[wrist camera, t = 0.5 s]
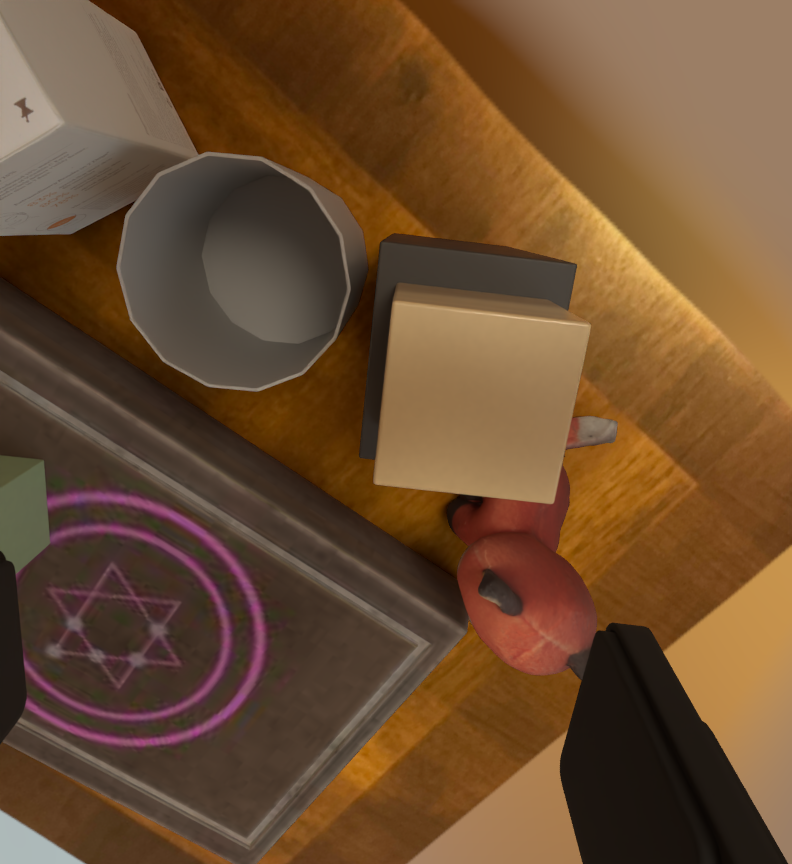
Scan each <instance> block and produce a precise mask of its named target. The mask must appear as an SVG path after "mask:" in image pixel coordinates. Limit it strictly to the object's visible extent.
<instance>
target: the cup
mask: <svg viewBox="0 0 792 864" xmlns="http://www.w3.org/2000/svg"><path fill="white" fill-rule="evenodd" d="M116 268H117V272H118V276H119V280H120V283H121V287H122V291H123V294H124V298H125V302H126V306H127V309H128V313H129V317H130V320H131V321H132V323H133V324H134V325H135V327H136V328H137V329H138V330H139V332H140V333H141V334H142V335H143V337H144V338H145V339H146V341H147V342H148V343H149V344H150V346H151V347H152V348H153V350H154V351H155V352H156V353H157V355H158V356H159V357H160V358H161V360H162V361H163V362H164V363H166V364H168V365H170V366H171V367H173V368H175V369H177V370H179V371H180V372H182V373H184V374H186V375H188V376H189V377H191V378H193V379H195V380H197V381H198V382H200V383H202V384H204V385H206V386H207V387H213V388H224V389H235V390H246V391H257V392H258V391H261V390H263V389H266V388H269V387H271V386H274V385H277V384H279V383H282V382H285V381H288V380H290V379H293V378H296V377H298V376H301V375H303V374H304V373H305V372H306V371H307V370H308V369H309V368H310V367H311V366H312V365H313V364H314V362H315V361H316V360H317V359H318V358H319V357H320V356H321V355H322V354H323V353H324V352H325V351H326V350H327V348H328V347H329V346H330V345H331V344H332V343H333V342H334V341H335V340H336V339H337V337H338V336H339V334H340V332H341V331H342V329H343V328H344V326H345V325H346V323H347V322H348V320H349V318H350V317H351V315H352V314H353V312H354V311H355V309H356V308H357V306H358V304H359V300H360V297H361V294H362V290H363V287H364V284H365V280H366V277H367V274H368V270H369V269H368V262H367V255H366V248H365V242H364V235H363V231H362V229H361V228H360V226H359V225H358V223H357V221H356V220H355V218H354V217H353V215H352V214H351V212H350V211H349V209H348V207H347V206H346V204H345V203H344V201H343V200H342V198H340V197H339V196H337V195H336V194H334V193H332V192H331V191H329V190H328V189H326V188H324V187H323V186H321V185H320V184H318V183H316V182H315V181H313V180H312V179H310V178H308V177H306V176H304V175H302V174H300V173H297V172H295V171H293V170H291V169H288V168H286V167H284V166H282V165H279V164H277V163H275V162H273V161H270V160H268V159H266V158H264V157H258V156H248V155H237V154H226V153H215V152H205V153H203V154H200V155H198V156H196V157H193V158H191V159H189V160H187V161H184V162H182V163H180V164H177V165H175V166H173V167H170V168H168V169H166V170H163V171H161V172H159V173H157V175H156V176H155V177H154V178H153V180H152V181H151V182H150V184H149V185H148V186H147V188H146V189H145V190H144V192H143V193H142V194H141V195H140V197H139V198H138V199H137V201H136V202H135V203H134V205H133V206H132V207H131V209H130V210H129V211H128V212H127V214H126V215H125V221H124V227H123V233H122V238H121V244H120V250H119V255H118V261H117V267H116Z"/></svg>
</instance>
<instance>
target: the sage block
mask: <svg viewBox="0 0 792 864" xmlns="http://www.w3.org/2000/svg"><path fill="white" fill-rule="evenodd" d="M49 544H50V535H49V521H48V508H47V495H46V481H45V468H44V460H41V459H31V458H22V457H12V456H3V455H0V551H1V552H3V554H4V555H5V557H6V560H7V561H11V562H12V563H13V564H14V567H15V573H16V574H17V573H18V572H19V571H20V570H21V569H22V568H23V567H24V566H26V565H27V564H28V563H29V562H30V561H31V560H32V559H33V558H34V557H36V556H37V555H38V554H39V553H40V552H41V551H42V550H43V549H45V548H46V547H47V546H48V545H49Z"/></svg>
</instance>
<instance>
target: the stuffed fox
mask: <svg viewBox="0 0 792 864" xmlns="http://www.w3.org/2000/svg"><path fill="white" fill-rule="evenodd" d="M616 434H617V422H616V421H613V420H609V419H602V418H598V417H593V416H584V417H577V418H572V420H571V425H570V430H569V434H568V439H567V444H566V449H565V450H567V449H572V448H579V447H584V446H589V445H599V444H603V443H613V442H614V441H615V438H616ZM564 457H565V456H564ZM569 494H570V485H569V480H568V477H567V474H566V471H565V469H564V467H563V463H562V468H561V473H560V477H559V482H558V487H557V492H556V496H555V501H554V503H553V504H545V503H536V502H527V501H518V500H509V499H500V498H491V497H482V496H474V495H465V494H460V496H459V497H457V499H455V500H453V501H452V502H451V503H450V504H449V505H448V508H447V519H448V523H449V526H450V528H451V529H452V531H453V532H454V533H455V534H456V535H457V536H458V537H459V538H460V539H461V540H462V541H463V542H464V543H465V544H466V545H468V546H469V547H468V548H467V549H466V551H465V552H464V553H463V555H462V557H461V559H460V561H459V564H458V568H457V579H458V584H459V588H460V591H461V594H462V598H463V601H464V605H465V608H466V610H467V613H468V616H469V619H470V622H471V623H472V625H473V626H474V628H475V630H476V632H477V634H478V635H479V637H480V638H481V639H482V640H483V642H484V643H485V644H486V645H487V646H488V647H489V648H490V649H491V650H492V651H493V652H494V653H495V654H496V655H497V656H498V657H499V658H500V659H502V660H503V661H504V662H505V663H507V664H508V665H510V666H511V667H513V668H515V669H517V670H519V671H522V672H524V673H527V674H532V675H550V674H556V673H559V672H562V671H565V670H566V669H568V668H571V669H572V670H573V672H574V673H575V674H576V675H577V676H578V677H579V678H580V679H581V680H582V678H583V675H584V671H585V667H586V664H587V660H588V657H589V653H590V650H591V646H592V642H593V639H594V636H595V634H596V627H597V615H596V610H595V607H594V603H593V600H592V598H591V596H590V594H589V591H588V589H587V587H586V585H585V584H584V582H583V580H582V578H581V577H580V575H579V574H578V573H577V572H576V570H575V569H574V568H573V567H572V565H571V564H570V563H569V562H568V561H567V560H565V559H564V558H563V557H561V556H560V555H558V554H557V553H556V550H557V547H558V544H559V536H560V530H561V526H562V524H563V521H564V519H565V516H566V513H567V510H568V507H569V503H570V502H569Z"/></svg>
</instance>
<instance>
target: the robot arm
mask: <svg viewBox="0 0 792 864" xmlns="http://www.w3.org/2000/svg"><path fill="white" fill-rule="evenodd" d="M26 700H27V689H26V679H25V668H24V657H23V647H22V636H21V626H20V615H19V604H18V594H17V583H16V573H15V567H14V564H13V563H12V562H11V561H7V560H6V557H5V555H4V554H3V552H1V551H0V744H1V743H2V741H3V740H4V739H5V737H6V736H7V735H8V734H9V732H10V731H11V730H12V728H13V727H14V726H15V724H16V723H17V722H18V720H19V719H20V717H21V715H22V713H23V711H24V708H25V705H26ZM560 776H561V781H562V786H563V790H564V794H565V798H566V801H567V805H568V809H569V813H570V817H571V820H572V824H573V828H574V832H575V836H576V840H577V843H578V847H579V851H580V855H581V858H582V862H583V864H788V863H787V861H786V859H785V857H784V856H783V854H782V852H781V851H780V849H779V847H778V845H777V844H776V842H775V840H774V838H773V837H772V835H771V833H770V831H769V830H768V828H767V826H766V824H765V823H764V821H763V819H762V817H761V816H760V814H759V812H758V810H757V809H756V807H755V805H754V804H753V802H752V800H751V798H750V797H749V795H748V793H747V791H746V789H745V788H744V786H743V784H742V783H741V781H740V779H739V777H738V775H737V774H736V772H735V770H734V769H733V767H732V765H731V763H730V762H729V760H728V758H727V756H726V755H725V753H724V751H723V749H722V748H721V746H720V745H719V743H718V741H717V739H716V738H715V735H714V734H713V732H712V731H711V729H710V728H709V727H708V725H707V724H706V723H704V722H703V721H702V720H701V719H700V717H699V715H698V713H697V712H696V710H695V708H694V706H693V704H692V703H691V701H690V699H689V697H688V696H687V694H686V692H685V690H684V688H683V687H682V685H681V683H680V681H679V680H678V678H677V676H676V674H675V673H674V671H673V669H672V667H671V666H670V664H669V662H668V660H667V658H666V657H665V655H664V653H663V651H662V650H661V648H660V646H659V644H658V643H657V641H656V639H655V637H654V635H653V634H652V632H651V631H650V629H649V628H647V627H644V626H636V625H627V624H619V623H611V624H609V625H608V626H607V628H606V631H600V630H599V631H597V632H596V634H595V636H594V639H593V642H592V646H591V650H590V653H589V657H588V660H587V664H586V667H585V671H584V675H583V678H582V682H581V685H580V689H579V693H578V696H577V700H576V703H575V707H574V711H573V714H572V718H571V721H570V725H569V729H568V732H567V736H566V740H565V744H564V747H563V750H562V754H561V760H560Z"/></svg>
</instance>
